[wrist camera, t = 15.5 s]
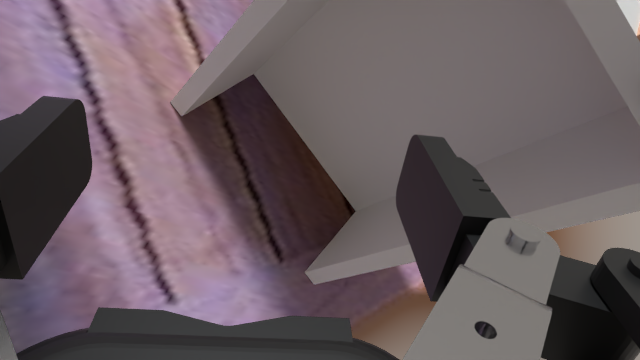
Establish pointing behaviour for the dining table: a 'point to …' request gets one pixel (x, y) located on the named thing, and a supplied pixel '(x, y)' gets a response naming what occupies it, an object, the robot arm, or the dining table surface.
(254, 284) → the dining table surface
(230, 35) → the tall cream box
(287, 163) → the dining table surface
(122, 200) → the dining table surface
